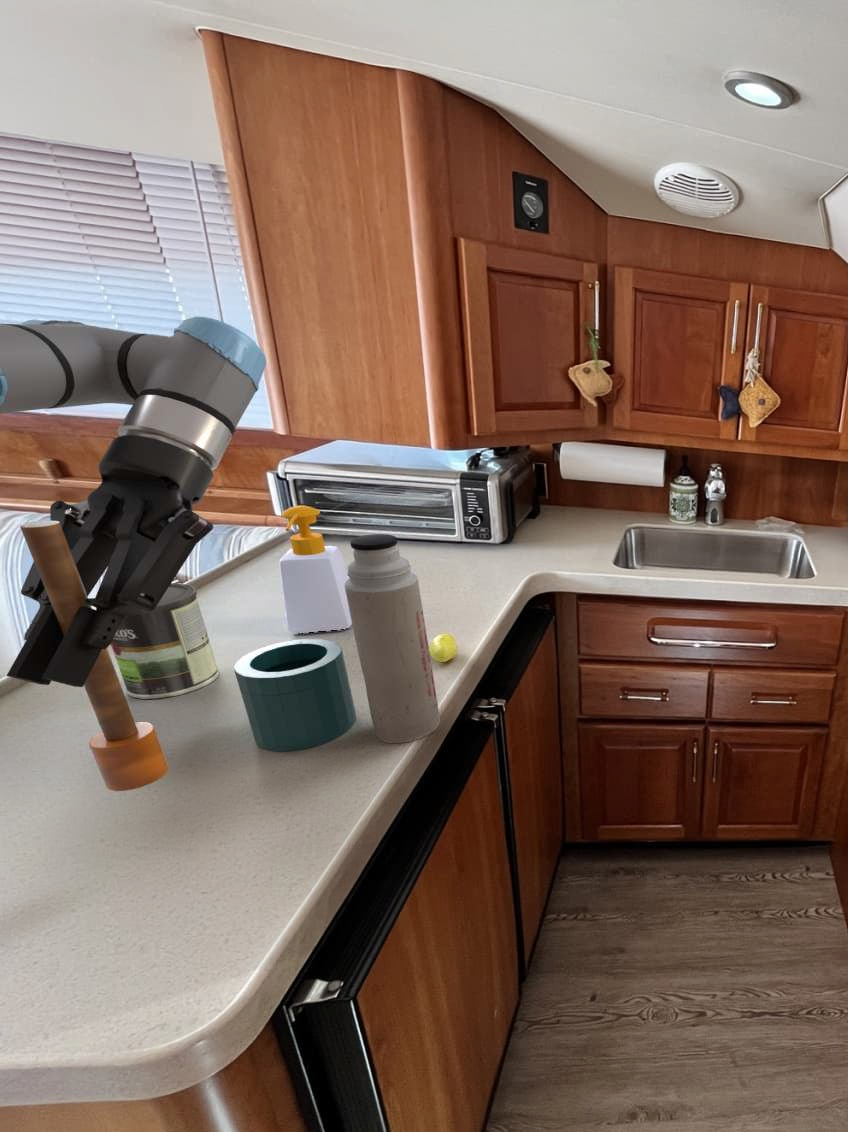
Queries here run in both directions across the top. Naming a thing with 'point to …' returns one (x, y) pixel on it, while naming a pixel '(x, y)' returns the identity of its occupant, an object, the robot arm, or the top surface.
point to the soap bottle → (312, 578)
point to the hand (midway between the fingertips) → (45, 681)
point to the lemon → (443, 647)
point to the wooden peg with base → (96, 671)
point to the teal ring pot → (296, 694)
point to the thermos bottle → (391, 640)
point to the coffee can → (165, 647)
